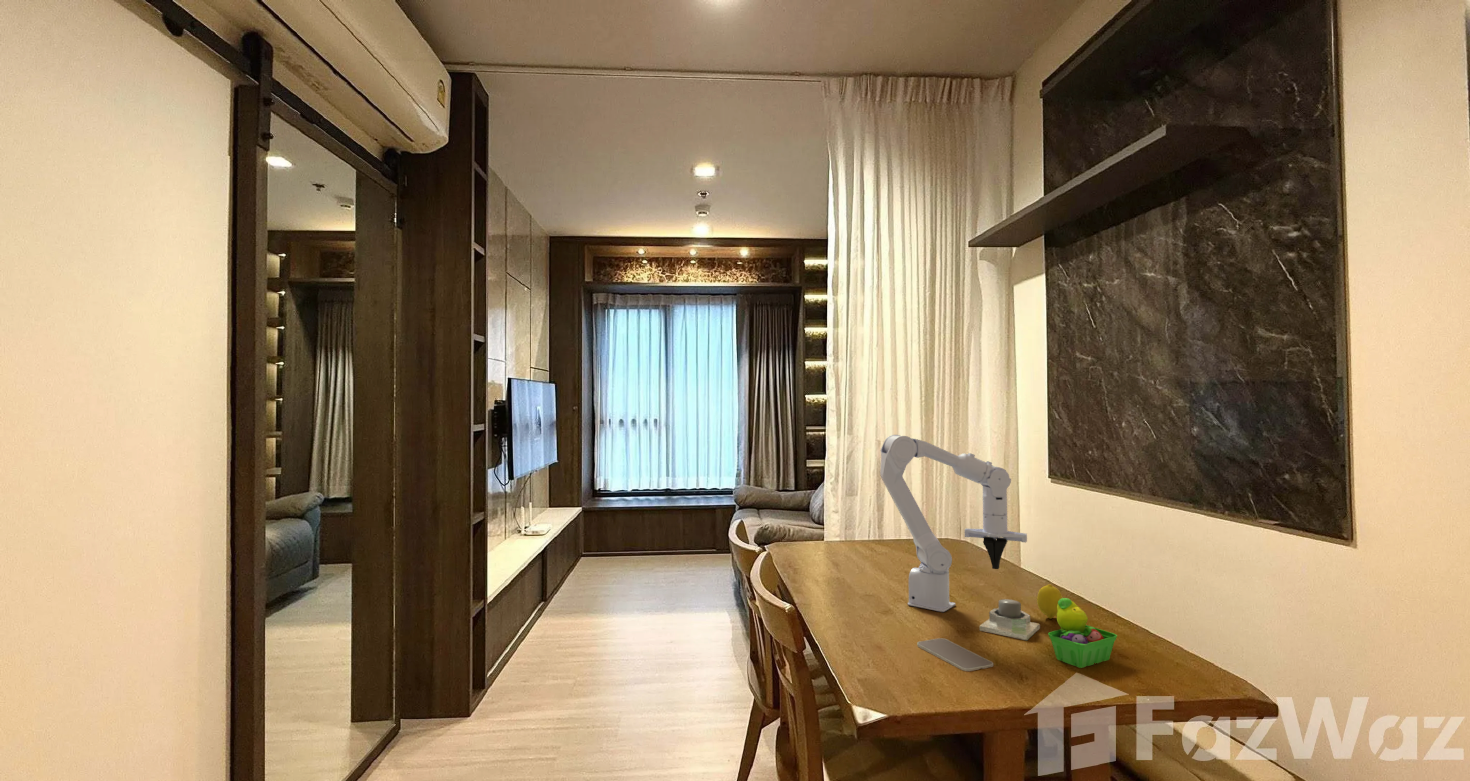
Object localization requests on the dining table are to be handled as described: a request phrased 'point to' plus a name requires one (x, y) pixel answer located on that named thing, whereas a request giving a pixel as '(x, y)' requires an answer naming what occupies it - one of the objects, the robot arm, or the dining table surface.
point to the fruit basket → (1079, 637)
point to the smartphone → (954, 654)
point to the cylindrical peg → (1009, 608)
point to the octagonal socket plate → (1010, 625)
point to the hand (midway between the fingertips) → (995, 568)
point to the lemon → (1048, 600)
